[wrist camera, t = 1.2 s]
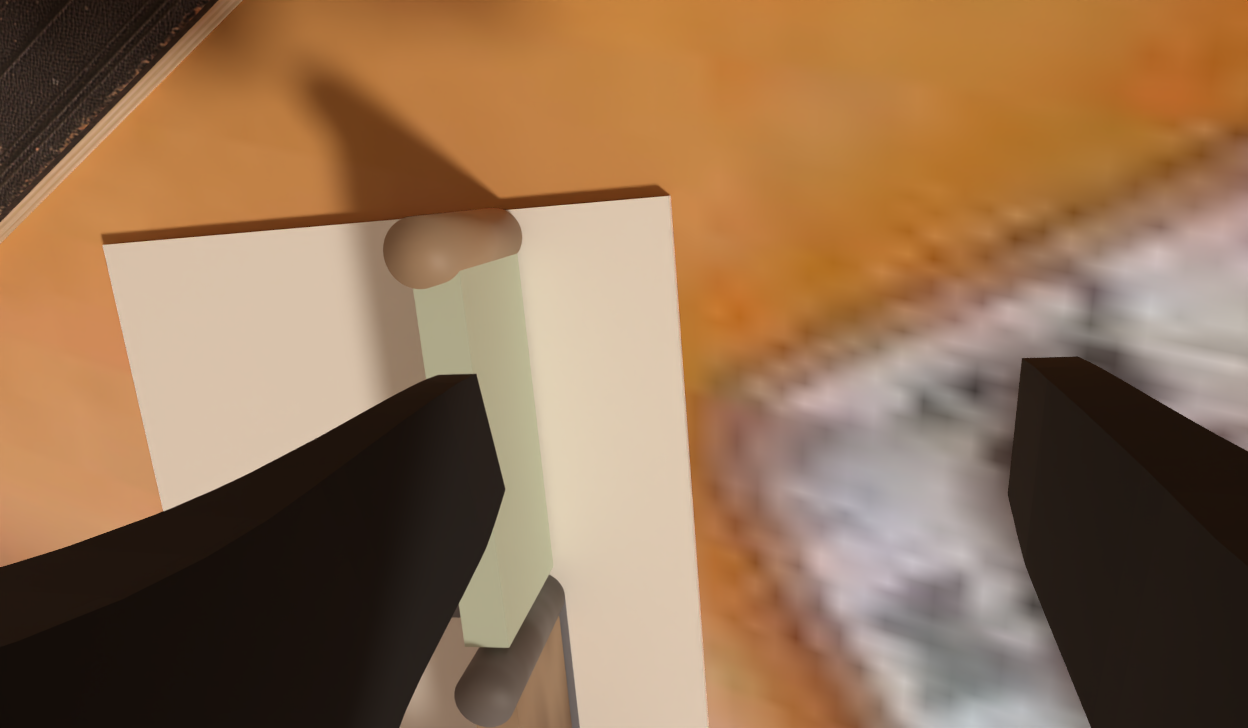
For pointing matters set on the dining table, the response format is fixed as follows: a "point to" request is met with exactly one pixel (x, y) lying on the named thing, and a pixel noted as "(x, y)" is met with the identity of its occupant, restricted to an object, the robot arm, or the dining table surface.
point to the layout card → (393, 361)
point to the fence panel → (484, 391)
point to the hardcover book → (81, 81)
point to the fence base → (521, 673)
